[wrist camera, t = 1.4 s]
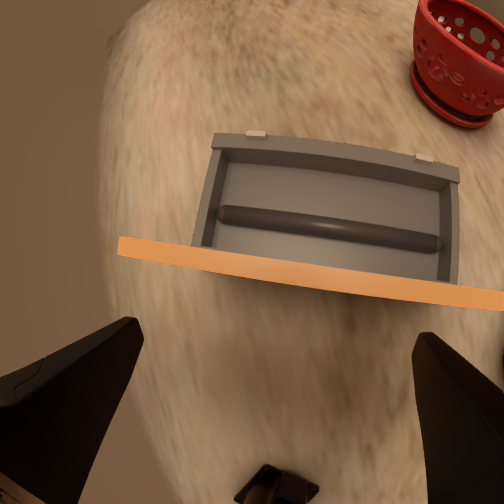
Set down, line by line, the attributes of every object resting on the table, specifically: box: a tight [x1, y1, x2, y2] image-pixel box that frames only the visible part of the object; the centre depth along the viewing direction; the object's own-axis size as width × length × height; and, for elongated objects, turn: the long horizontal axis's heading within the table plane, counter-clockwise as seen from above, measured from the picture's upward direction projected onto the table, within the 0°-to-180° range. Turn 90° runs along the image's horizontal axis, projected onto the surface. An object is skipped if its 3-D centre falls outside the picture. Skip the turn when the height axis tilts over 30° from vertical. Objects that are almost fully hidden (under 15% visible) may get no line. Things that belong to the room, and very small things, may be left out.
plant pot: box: [410, 0, 504, 128], centre depth 18 cm, size 13×13×12 cm
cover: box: [117, 236, 504, 311], centre depth 15 cm, size 10×19×1 cm
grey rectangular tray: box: [191, 130, 460, 285], centre depth 22 cm, size 11×22×5 cm, turn 80°
